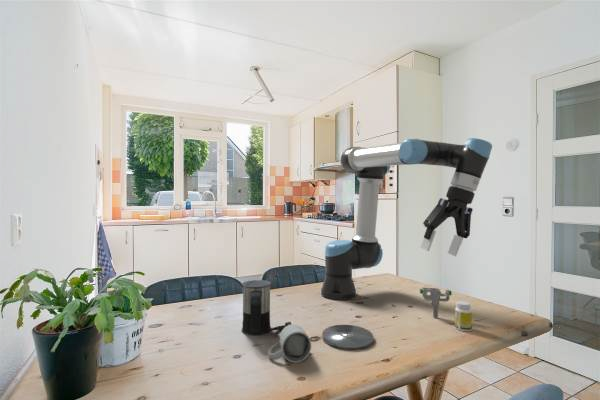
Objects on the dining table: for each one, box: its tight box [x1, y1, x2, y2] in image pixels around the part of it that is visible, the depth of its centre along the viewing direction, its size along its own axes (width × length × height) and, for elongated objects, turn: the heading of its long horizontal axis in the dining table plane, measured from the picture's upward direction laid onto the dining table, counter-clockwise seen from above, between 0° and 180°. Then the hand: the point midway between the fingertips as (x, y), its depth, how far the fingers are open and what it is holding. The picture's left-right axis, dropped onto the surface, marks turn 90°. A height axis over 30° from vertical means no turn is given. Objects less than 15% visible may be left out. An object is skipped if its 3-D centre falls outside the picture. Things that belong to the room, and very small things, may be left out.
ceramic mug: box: [268, 323, 312, 364], centre depth 85 cm, size 11×8×8 cm
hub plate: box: [321, 324, 374, 351], centre depth 95 cm, size 15×15×1 cm
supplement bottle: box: [454, 300, 473, 332], centre depth 103 cm, size 5×5×8 cm
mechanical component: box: [419, 287, 453, 319], centre depth 113 cm, size 3×10×10 cm, turn 78°
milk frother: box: [241, 279, 292, 336], centre depth 101 cm, size 14×16×15 cm
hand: (438, 252), depth 102 cm, fingers open, 13 cm apart
